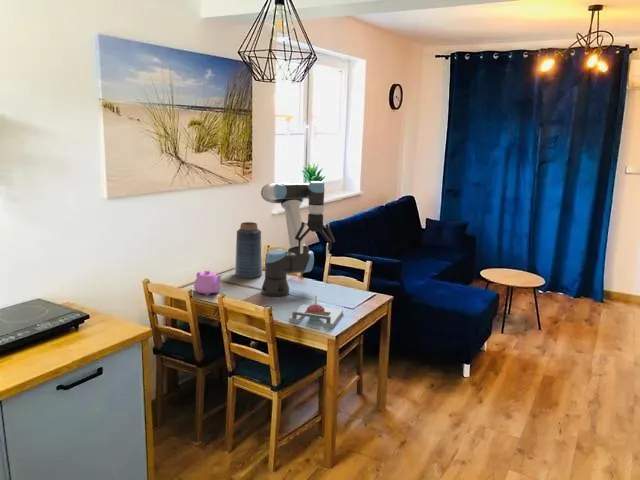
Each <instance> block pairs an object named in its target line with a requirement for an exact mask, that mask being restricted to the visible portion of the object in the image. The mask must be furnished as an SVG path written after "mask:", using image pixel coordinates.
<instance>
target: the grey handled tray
mask: <svg viewBox="0 0 640 480" xmlns="http://www.w3.org/2000/svg"><path fill="white" fill-rule="evenodd" d="M310 305H311V304H301V306H299V307H298V308H297V309H296V310H293V311H292V312H291V313H292V315H291V316H290V317H289V318H288V322H289V323H294V324H299V323H300V322H301V321H302V320H303V319H304V318H305V317H309V318H310V317H314V318H320V320H321V319H323V320H324V321H323V322H322V327H323V328H329V329H333V328H334V326H335V325H336V324H337V322H338V321H339V320H340V319H341V317H342V316H343V315H344V309H340V308H332V307H325V306H322V307H323V308H324V309H325V310H324V311H325V312H324V313H323V314H322V315H317V314H310V313H307V308H308V307H309V306H310Z"/></svg>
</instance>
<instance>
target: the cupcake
mask: <svg viewBox="0 0 640 480" xmlns="http://www.w3.org/2000/svg"><path fill="white" fill-rule="evenodd" d="M314 299H315V301H314V304H309V305H310V306H309V307H308V308H307V313H310V314H317V315H322V314H323V313H324V312H325V311H324V310H325V309H324V308H323V307H324V306H323V305H320V304H317V300H318V299H317V295H315V297H314ZM309 319H310V321H313V322H319V321H320V320H321V318H314V317H309Z"/></svg>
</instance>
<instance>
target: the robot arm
mask: <svg viewBox="0 0 640 480" xmlns="http://www.w3.org/2000/svg"><path fill="white" fill-rule="evenodd" d="M325 188H326V187H325V183H324V182H323V181H320V180H312V181H310V182H304V183H301V182H300V183H298V182H271V183H268V184H265V185H264V186H262V188H261V190H260V195H261V197H262V199H263V201H266V202H267V203H270V204H280V207H281V208H282V209H284V215H285V220H286V221H285V222H286V228H287V233H288V234H287V235H288V242H289V248H288V249H285V248H281V249H280V248H277V249H272V250H269V251H267V252H266V253H265V256H264V257H265V258H264V264H265V267H264V280H263V283H262V287H261V293H262V295H264V296H268V297H285V296H287V295H289V294H290V286H289V283H288V280H287V275H288V274H301V273H302V274H304V273H310V272H311V271H312V270H313V268H314V264H315V263H314V262H315V256H314V255H315V254H314V252H313V251H312V250H310V248H309V246H308V245H307V244H306V241H305V240H306V239H305V237H306V236H307V235H308V234H309V233H310V232H313V233H314V232H316V233H318V232H319V233H320V234H321V236H322V237H323V238H324V240H325V241H326V242H327V243H326V246H325V250H326V251H325V257H326V258H328V257H329V255H330V250H331V249H332V244H334V243H335V242H336V239H335V237H334V235H333V233H332V230H331V228H330V227H331V226H330V223H329V222H328V223H324V206H325V205H324V204H325V203H324V202H325ZM304 199H308V204H307V205H308V208H307V209H308V210H307V211H308V213H307V214H308V215H307V221H305V220H303V221H302V215H301V209H300V208H301V205H302V203H303V201H304ZM306 226H307V227H308V228H307V229H306V230H305V232H304V229H305V227H306ZM324 229H325V230H326V232H327V233H326V232H325V230H324Z"/></svg>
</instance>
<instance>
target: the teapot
mask: <svg viewBox="0 0 640 480" xmlns="http://www.w3.org/2000/svg"><path fill="white" fill-rule="evenodd" d="M195 276H196V279H195V280H194V284H193V288H194V290H195V291H196V292H197V293H198V294H204V296H210V294H217V293H218V292H219V291H220V290H221V287H222V283H221V277H222V276H223V275H222V274H220V275H217V274H216V273H215V272H214V271H211V270H209V269H207V270H204V271H203V272H201V271H199V272H196V275H195Z"/></svg>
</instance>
